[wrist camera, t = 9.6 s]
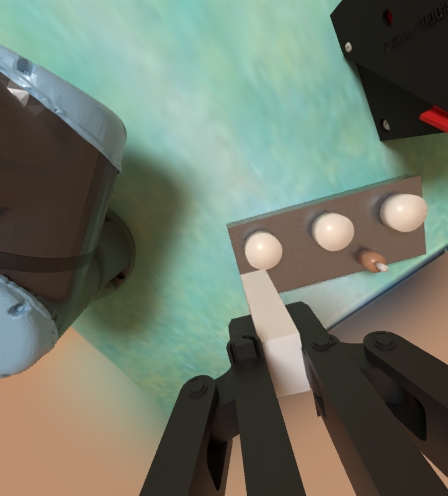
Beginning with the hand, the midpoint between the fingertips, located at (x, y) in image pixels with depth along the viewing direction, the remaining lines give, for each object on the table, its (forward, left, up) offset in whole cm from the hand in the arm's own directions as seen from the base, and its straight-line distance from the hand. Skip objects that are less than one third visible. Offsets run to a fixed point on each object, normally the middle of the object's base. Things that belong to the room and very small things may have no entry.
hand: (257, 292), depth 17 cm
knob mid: (+13, -5, -27) cm, 30 cm away
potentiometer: (+18, -11, -25) cm, 32 cm away
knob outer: (+23, -5, -27) cm, 36 cm away
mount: (+13, -7, -28) cm, 31 cm away
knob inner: (+3, -5, -27) cm, 28 cm away
